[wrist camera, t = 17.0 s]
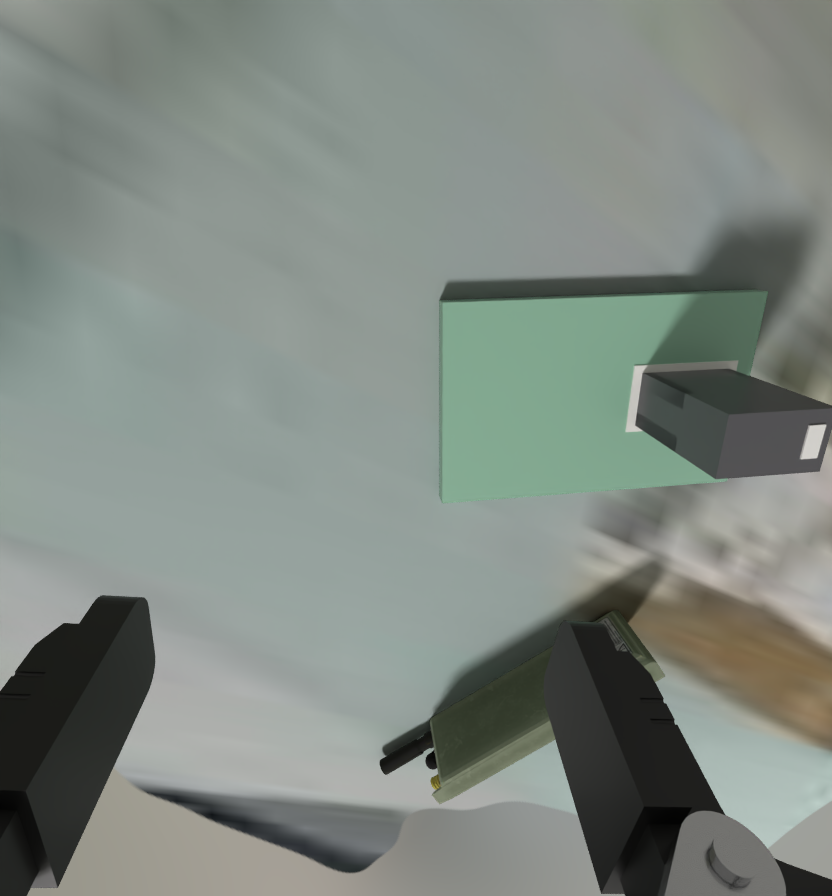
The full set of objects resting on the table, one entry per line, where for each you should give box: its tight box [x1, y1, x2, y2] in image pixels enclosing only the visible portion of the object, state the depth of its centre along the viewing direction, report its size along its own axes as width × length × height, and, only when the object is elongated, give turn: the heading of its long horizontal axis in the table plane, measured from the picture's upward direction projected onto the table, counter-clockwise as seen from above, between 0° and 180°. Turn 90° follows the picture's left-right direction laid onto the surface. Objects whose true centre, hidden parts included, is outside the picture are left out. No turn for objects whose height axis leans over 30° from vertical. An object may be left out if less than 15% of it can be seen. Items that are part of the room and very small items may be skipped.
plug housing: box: [635, 369, 832, 479], centre depth 34 cm, size 6×4×9 cm, turn 91°
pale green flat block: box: [439, 290, 768, 503], centre depth 37 cm, size 22×14×5 cm, turn 91°
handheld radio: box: [380, 610, 665, 804], centre depth 46 cm, size 7×3×25 cm
